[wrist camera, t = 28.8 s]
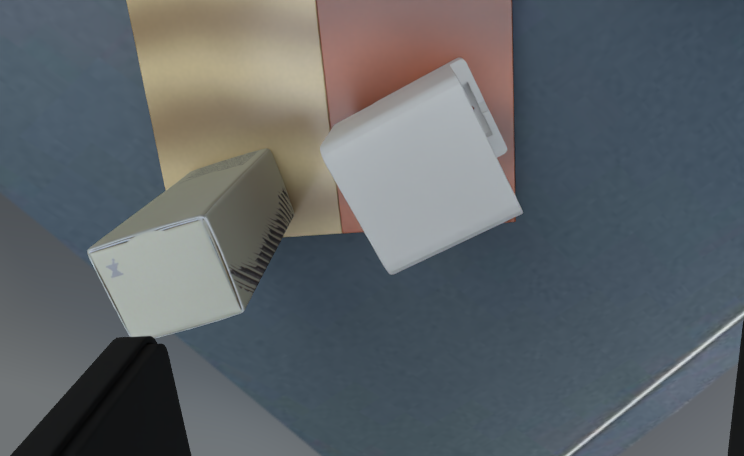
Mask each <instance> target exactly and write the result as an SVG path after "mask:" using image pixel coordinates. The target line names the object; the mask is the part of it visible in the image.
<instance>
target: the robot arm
mask: <svg viewBox="0 0 744 456" xmlns="http://www.w3.org/2000/svg"><path fill="white" fill-rule="evenodd" d="M10 456H191V452H190V448H189V444H188V439H187V435H186V430H185V426H184V422H183V417H182V412H181V408H180V404H179V399H178V395H177V390H176V386H175V382H174V377H173V373H172V368H171V364H170V359H169V356H168V352H167V349H166V347H165V345H163V344H157V342H156V341H155V339H154V338H153V337H152V336H138V337H120V338H116V339H114V340H113V341H112V342H111V343H110V344H109V346H108V347H107V348H106V349H105V350H104V351H103V352H102V353H101V355H100V356H99V357H98V358H97V359H96V360H95V361H94V362H93V363H92V365H91V366H90V367H89V368H88V369H87V370H86V371H85V373H84V374H83V375H82V376H81V377H80V378H79V379H78V380H77V381H76V383H75V384H74V385H73V386H72V387H71V388H70V389H69V390H68V392H67V393H66V394H65V395H64V396H63V397H62V398H61V399H60V401H59V402H58V403H57V404H56V405H55V406H54V408H52V409H51V411H50V412H49V413H48V414H47V415H46V416H45V417H44V418H43V420H42V421H41V422H40V423H39V424H38V425H37V426H36V428H35V429H34V430H33V431H32V432H31V433H30V434H29V435H28V437H27V438H26V439H25V440H24V441H23V442H22V443H21V445H19V446H18V448H17V449H16V450H15V451H14V452H13V453H12V455H10ZM728 456H744V321H743V328H742V337H741V345H740V354H739V362H738V371H737V379H736V388H735V396H734V405H733V413H732V422H731V431H730V439H729V448H728Z"/></svg>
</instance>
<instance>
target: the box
mask: <svg viewBox="0 0 744 456" xmlns="http://www.w3.org/2000/svg"><path fill="white" fill-rule="evenodd" d="M293 217H294V210H293V208H292V205H291V202H290V199H289V196H288V193H287V190H286V187H285V185H284V182H283V179H282V176H281V174H280V171H279V169H278V166H277V164H276V162H275V159H274V157H273V155H272V152H271V150H270V149H267V148H266V149H261V150H257V151H253V152H250V153H246V154H243V155H240V156H236V157H233V158H230V159H227V160H223V161H220V162H217V163H214V164H211V165H208V166H205V167H202V168H199V169H196V170H194V171H191V172H189V173H188V174H187V175H186V176H185V177H183V178H182V179H181V180H179V181H178V182H177V183H176V184H174V185H173V186H172V187H170V188H169V189H167V190H166V191H165V192H164V193H162V194H161V195H159V196H158V197H157V198H155V199H154V200H153V201H151V202H150V203H149V204H147V205H146V206H145V207H143V208H142V209H141V210H139V211H138V212H136V213H135V214H134V215H132V216H131V217H130V218H128V219H127V220H126V221H124V222H123V223H122V224H120V225H119V226H118V227H116V228H115V229H114V230H113V231H111V232H110V233H109V234H107V235H106V236H104V237H103V238H102V239H100V240H99V241H98V242H97V243H95V244H94V245H93V246H91V247H90V248H89V249H88V250H87V252H88V255H89V258H90V260H91V262H92V264H93V266H94V268H95V270H96V272H97V274H98V276H99V278H100V280H101V282H102V284H103V287H104V288H105V290H106V292H107V294H108V296H109V298H110V300H111V302H112V304H113V306H114V308H115V309H116V311H117V313H118V315H119V317H120V319H121V321H122V323H123V325H124V327H125V329H126V330H127V332H128V334H129V336H130V337H138V336H152V337H153V338H157V337H162V336H165V335H168V334H173V333H176V332H180V331H184V330H188V329H191V328H195V327H198V326H202V325H205V324H209V323H212V322H216V321H219V320H222V319H225V318H228V317H231V316H234V315H237V314H240V313H242V312H244V310H245V308H246V306H247V304H248V302H249V301H250V299H251V297H252V295H253V293H254V291H255V289H256V287H257V285H258V283H259V281H260V279H261V277H262V276H263V273H264V271H265V270H266V267H267V266H268V264H269V262H270V260H271V258H272V256H273V254H274V253H275V251H276V249H277V247H278V245H279V243H280V242H281V239H282V237H283V236H284V233H285V232H286V230H287V228H288V226H289V224H290V222H291V220H292V218H293Z"/></svg>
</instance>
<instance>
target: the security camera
mask: <svg viewBox="0 0 744 456" xmlns="http://www.w3.org/2000/svg"><path fill="white" fill-rule="evenodd" d="M472 106H473V107H474V110H473V108H472ZM506 151H507V146H506V144H505V142H504V140H503V138H502V136H501V134H500V132H499V130H498V127H497V125H496V123H495V121H494V119H493V117H492V115H491V113H490V111H489V109H488V107H487V105H486V103H485V100H484V98H483V96H482V94H481V92H480V90H479V88H478V86H477V84H476V82H475V79H474V77H473V75H472V73H471V71H470V69H469V67H468V65H467V63H466V61H465V60H464V59H463V58H456V59H454V60H452V61H451V62H449V63H447V64H445V65H443V66H441V67H439V68H438V69H436V70H434V71H432V72H430V73H428V74H427V75H425V76H423V77H421V78H419V79H417V80H415V81H414V82H412V83H410V84H408V85H406V86H404V87H402V88H401V89H399V90H397V91H395V92H393V93H391V94H389V95H388V96H386V97H384V98H382V99H380V100H378V101H377V102H375V103H374V104H372V105H370V106H368V107H366V108H364V109H363V110H361V111H359V112H357V113H355V114H353V115H351V116H350V117H348V118H346V119H344V120H342V121H340V122H338V123H337V124H335V125H334V126H333V127H332V129H331V131H330V132H329V134H328V135H327V137H326V138H325V140H324V141H323V143H322V144H321V146H320V152H321V155H322V158H323V160H324V162H325V164H326V166H327V168H328V170H329V171H330V173H331V175H332V177H333V178H334V180H335V182H336V184H337V185H338V187H339V189H340V191H341V192H342V194H343V196H344V198H345V199H346V201H347V203H348V205H349V206H350V208H351V210H352V212H353V213H354V215H355V217H356V219H357V220H358V222H359V224H360V226H361V227H362V229H363V231H364V233H365V234H366V236H367V238H368V239H369V241H370V243H371V245H372V246H373V248H374V250H375V252H376V253H377V255H378V257H379V259H380V260H381V262H382V264H383V266H384V267H385V269H386V270H387V271H388V273H389V274H391V275H393V274H396V273H398V272H400V271H402V270H404V269H406V268H408V267H410V266H413V265H415V264H417V263H419V262H421V261H423V260H425V259H427V258H430V257H432V256H434V255H436V254H438V253H440V252H442V251H444V250H447V249H449V248H451V247H453V246H455V245H457V244H459V243H461V242H464V241H466V240H468V239H470V238H472V237H474V236H476V235H478V234H480V233H483V232H485V231H487V230H489V229H491V228H493V227H495V226H497V225H500V224H502V223H504V222H506V221H508V220H510V219H512V218H514V217H517V216H519V215H521V214H523V211H522V209H521V206H520V204H519V202H518V200H517V198H516V196H515V194H514V192H513V190H512V188H511V186H510V184H509V182H508V180H507V178H506V176H505V174H504V172H503V169H502V167H501V165H500V163H499V161H498V159H497V157H499V156H501V155H503V154H505V153H506Z"/></svg>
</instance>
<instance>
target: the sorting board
mask: <svg viewBox="0 0 744 456" xmlns="http://www.w3.org/2000/svg"><path fill="white" fill-rule="evenodd" d="M126 1H127V6H128V11H129V16H130V21H131V25H132V30H133V35H134V40H135V45H136V50H137V54H138V59H139V64H140V69H141V74H142V78H143V83H144V88H145V93H146V98H147V103H148V107H149V112H150V117H151V122H152V127H153V132H154V136H155V141H156V146H157V151H158V156H159V160H160V165H161V170H162V175H163V180H164V185H165V189H166V190H167V189H169V188H170V187H172V186H173V185H174V184H176V183H177V182H178V181H179V180H181V179H182V178H183V177H185V176H186V175H187V174H188V173H189V172H191V171H194V170H196V169H199V168H202V167H205V166H208V165H211V164H214V163H217V162H220V161H223V160H227V159H230V158H233V157H236V156H240V155H243V154H246V153H250V152H253V151H257V150H261V149H266V148H267V149H270V150H271V152H272V155H273V157H274V159H275V162H276V164H277V166H278V169H279V171H280V174H281V176H282V179H283V182H284V185H285V187H286V190H287V193H288V196H289V199H290V202H291V205H292V208H293V210H294V217H293V218H292V220H291V222H290V224H289V226H288V228H287V230H286V232H285V233H284V236H283V237H295V236H310V235H325V234H340V233H357V232H364V231H363V229H362V227H361V226H360V224H359V222H358V220H357V219H356V217H355V215H354V213H353V212H352V210H351V208H350V206H349V205H348V203H347V201H346V199H345V198H344V196H343V194H342V192H341V191H340V189H339V187H338V185H337V184H336V182H335V180H334V178H333V177H332V175H331V173H330V171H329V170H328V168H327V166H326V164H325V162H324V160H323V158H322V155H321V152H320V146H321V144H322V143H323V141H324V140H325V138H326V137H327V135H328V134H329V132H330V131H331V129H332V127H333V126H334V125H335V124H337V123H338V122H340V121H342V120H344V119H346V118H348V117H350V116H351V115H353V114H355V113H357V112H359V111H361V110H363V109H364V108H366V107H368V106H370V105H372V104H374V103H375V102H377V101H378V100H380V99H382V98H384V97H386V96H388V95H389V94H391V93H393V92H395V91H397V90H399V89H401V88H402V87H404V86H406V85H408V84H410V83H412V82H414V81H415V80H417V79H419V78H421V77H423V76H425V75H427V74H428V73H430V72H432V71H434V70H436V69H438V68H439V67H441V66H443V65H445V64H447V63H449V62H451V61H452V60H454V59H456V58H463V59H464V60H465V61H466V63H467V65H468V67H469V69H470V71H471V73H472V75H473V77H474V79H475V82H476V84H477V86H478V88H479V90H480V92H481V94H482V96H483V98H484V100H485V103H486V105H487V107H488V109H489V111H490V113H491V115H492V117H493V119H494V121H495V123H496V125H497V127H498V130H499V132H500V134H501V136H502V138H503V140H504V142H505V144H506V146H507V151H506V153H505V154H503V155H501V156H499V157H497V159H498V161H499V163H500V165H501V167H502V169H503V172H504V174H505V176H506V178H507V180H508V182H509V184H510V186H511V188H512V190H513V192H514V194H515V146H514V84H513V22H512V0H126ZM472 108H473V110H474V107H473V106H472ZM515 221H516V217H514V218H512V219H510V220H508V221H506V222H504V223H508V222H515Z"/></svg>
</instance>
